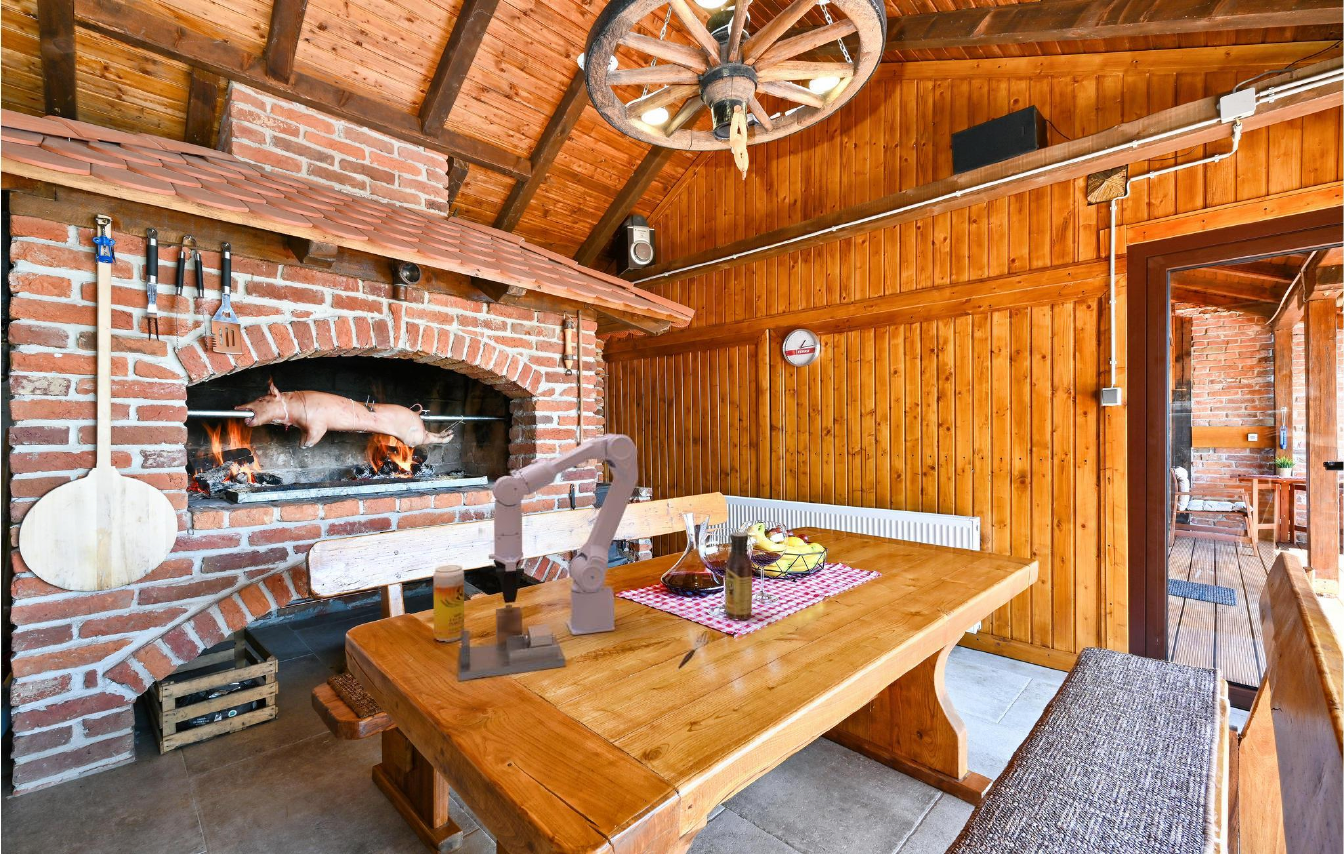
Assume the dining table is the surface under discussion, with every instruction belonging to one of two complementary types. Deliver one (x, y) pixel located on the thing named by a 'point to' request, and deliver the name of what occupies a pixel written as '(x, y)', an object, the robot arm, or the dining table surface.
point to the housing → (508, 623)
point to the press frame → (505, 658)
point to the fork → (693, 649)
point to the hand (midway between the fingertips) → (508, 596)
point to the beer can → (448, 603)
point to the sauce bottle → (738, 579)
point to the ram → (538, 636)
